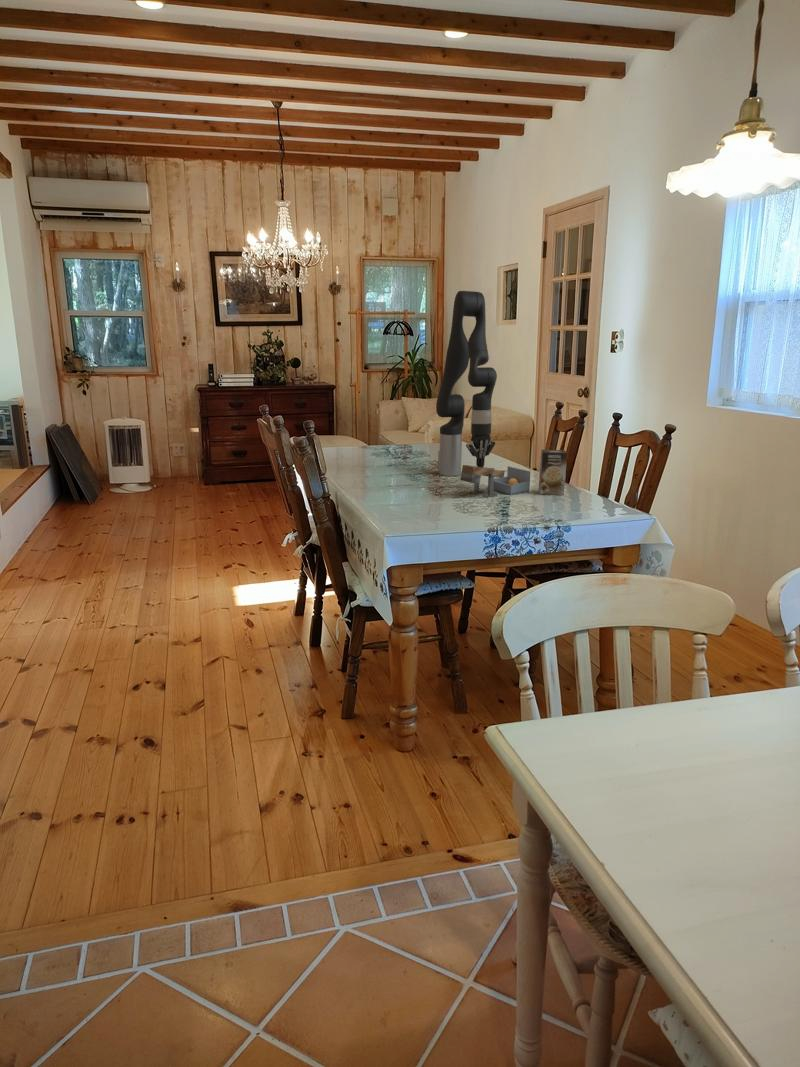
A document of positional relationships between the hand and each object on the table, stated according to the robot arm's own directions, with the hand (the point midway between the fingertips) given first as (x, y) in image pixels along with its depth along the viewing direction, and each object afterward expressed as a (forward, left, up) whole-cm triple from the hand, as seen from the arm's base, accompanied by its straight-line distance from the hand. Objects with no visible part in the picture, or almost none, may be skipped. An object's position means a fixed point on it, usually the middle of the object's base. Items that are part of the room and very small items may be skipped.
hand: (480, 467), depth 285 cm
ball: (+8, +9, -6) cm, 14 cm away
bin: (+8, +8, -9) cm, 14 cm away
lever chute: (+4, -6, -4) cm, 8 cm away
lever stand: (+8, -5, -9) cm, 13 cm away
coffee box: (+20, +18, -9) cm, 29 cm away
